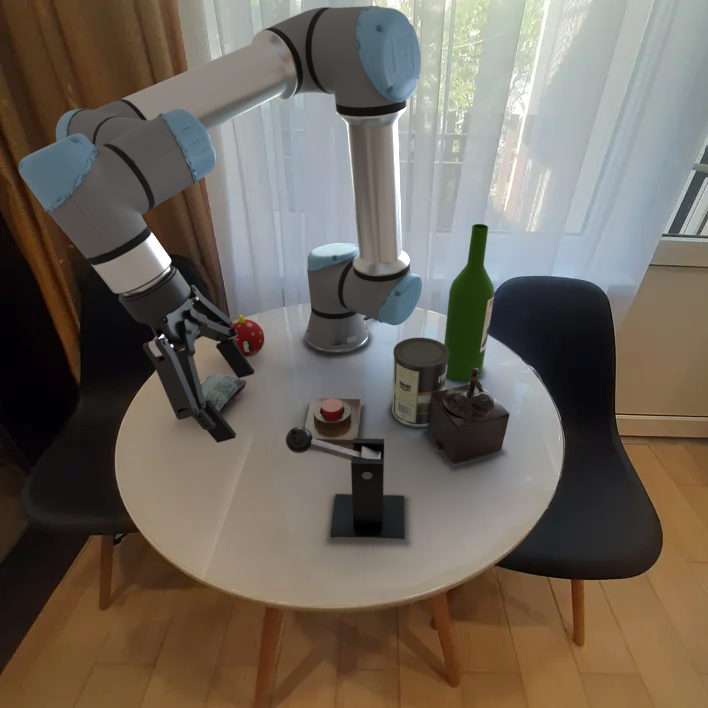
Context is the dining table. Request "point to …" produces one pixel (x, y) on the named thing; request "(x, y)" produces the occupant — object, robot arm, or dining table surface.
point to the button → (332, 408)
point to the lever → (324, 446)
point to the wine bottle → (469, 311)
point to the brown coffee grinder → (467, 421)
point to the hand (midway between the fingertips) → (237, 404)
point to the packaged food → (221, 390)
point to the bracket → (368, 500)
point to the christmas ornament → (248, 336)
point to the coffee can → (417, 378)
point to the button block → (334, 422)
